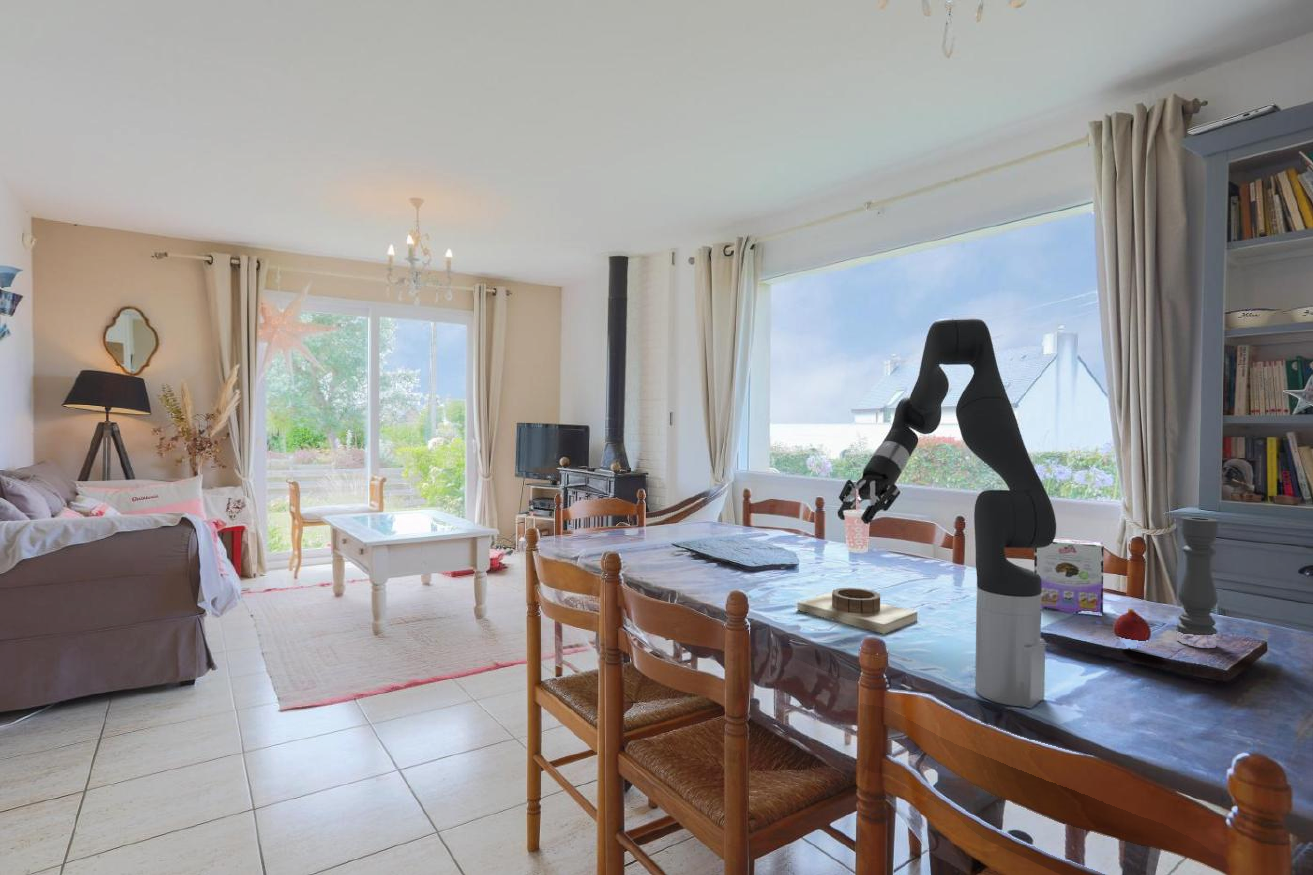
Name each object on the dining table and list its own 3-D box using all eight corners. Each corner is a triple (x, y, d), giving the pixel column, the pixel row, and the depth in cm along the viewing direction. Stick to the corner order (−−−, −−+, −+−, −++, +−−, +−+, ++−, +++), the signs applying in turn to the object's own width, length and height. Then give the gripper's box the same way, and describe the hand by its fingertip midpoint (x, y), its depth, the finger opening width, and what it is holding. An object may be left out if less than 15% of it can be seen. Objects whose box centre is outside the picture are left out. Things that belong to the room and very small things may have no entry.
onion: (1152, 649, 128) (1152, 608, 128) (1147, 657, 124) (1148, 614, 124) (1116, 642, 132) (1116, 602, 132) (1110, 649, 128) (1111, 608, 128)
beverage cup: (842, 552, 148) (842, 490, 148) (844, 547, 154) (844, 487, 153) (870, 554, 146) (870, 491, 145) (871, 549, 152) (872, 488, 151)
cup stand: (917, 620, 146) (917, 598, 146) (884, 634, 137) (884, 610, 137) (832, 600, 163) (832, 579, 163) (797, 610, 154) (797, 589, 154)
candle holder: (1224, 649, 128) (1227, 521, 128) (1187, 647, 129) (1191, 520, 129) (1204, 639, 134) (1207, 517, 134) (1169, 637, 136) (1173, 516, 135)
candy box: (1102, 611, 154) (1103, 541, 154) (1103, 617, 149) (1104, 545, 149) (1034, 602, 161) (1035, 535, 161) (1032, 608, 156) (1034, 539, 156)
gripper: (854, 452, 159) (819, 505, 153) (905, 455, 147) (870, 512, 141) (868, 473, 162) (835, 525, 156) (920, 477, 150) (886, 534, 144)
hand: (852, 519), depth 149 cm, fingers closed on beverage cup, 6 cm apart
